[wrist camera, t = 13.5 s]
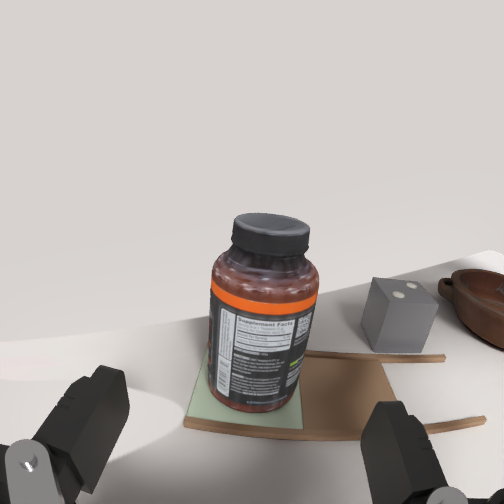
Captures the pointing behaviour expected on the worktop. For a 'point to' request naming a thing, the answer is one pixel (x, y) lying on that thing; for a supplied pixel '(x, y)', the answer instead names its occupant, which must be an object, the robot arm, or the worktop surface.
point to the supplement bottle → (260, 313)
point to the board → (315, 401)
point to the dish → (477, 301)
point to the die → (398, 316)
